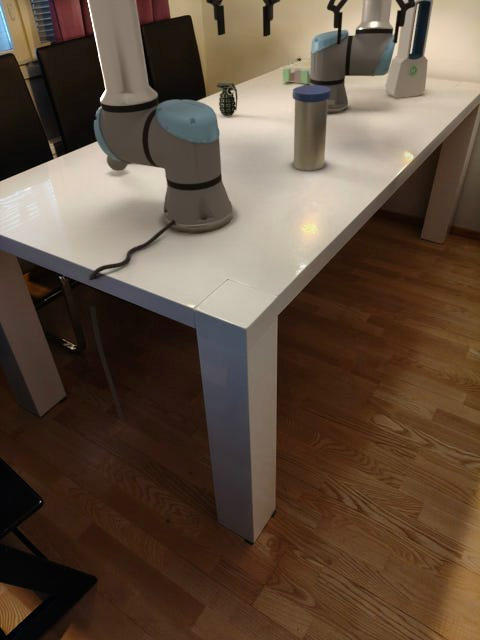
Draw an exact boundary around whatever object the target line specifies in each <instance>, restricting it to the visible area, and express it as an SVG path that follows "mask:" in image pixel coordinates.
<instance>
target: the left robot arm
mask: <svg viewBox="0 0 480 640" xmlns="http://www.w3.org/2000/svg"><path fill="white" fill-rule="evenodd" d="M262 1H263V3H264V5H263V6H262V36H263V37H268V36H271V21H274V6H275V4H277V3H280V2H281V0H262ZM222 2H223V0H206V3H207V4H210V5H212V7H213V18H214V20H215V21H216V27H217V36H223V35H225V34H226V24H225V23H226V22H225V5H222V4H223V3H222ZM87 3H88V4H87V5H88V8H89V13H90V20H91V23H92V29H93V34H94V39H95V43H96V49H97V53H98V59H99V63H100V68H101V73H102V78H103V84H104V88H105V90H104V92H103V93H102V95H101V97H100V98H99V102H100V107H98V109H97V110H96V113H95V120H93V130H94V135H95V139H96V143H97V144H98V146H99V147H100V149H101V150H102V152H103V153H104V154H105V155H106V156H109V157H111V158H112V159H115V160H118V161H122V162H124V163H128V164H127V165H131V164H132V165H139V166H146V167H154V168H160V169H164V174H165V180H166V190H165V191H166V192H165V196H164V203H163V207H162V218H163V222H164V224H165V226H164V227H162V228H161V229H159V231H157V232H156V233H155V234H153V236H152V237H151V238H150V239H148V240H147V241H146V242H143V243H142V244H139V245H136V246H134V247H132V248H130V249H129V250H128V251H127V253H126V257H125V258H124V260H122V261H119V262H115V263H109V264H104V265H101V266H99V267H97V268H95V269H94V270H93V272H91V274H90V276H89V279H88V280H89V281H92V280H95V278H96V276H97V275H98V274H100V273H101V272H102V271H106V270H111V269H116V268H121V267H124V266H125V265H127V264H128V263H129V262H130V260H131V256H132V254H133V253H136V252H138V251H140V250H142V249H145V248H146V247H148V246H150V245H151V244H153V243H154V242H155V241H156V240H157V239H158V238H160V237H161V236H162V235H163V234H164V233H165V232H167V231H168V230H169V229H171V230H173V231H177V232H180V233H190V234H191V233H192V234H193V233H194V234H195V233H196V234H197V233H205V232H206V233H207V232H210V231H215V230H216V229H220V228H222V227H224V226H226V225H227V224H228V223H230V221H231V220H232V218H233V216H234V212H233V211H234V210H233V204H232V201H231V200H230V197H229V195H228V192H227V190H226V187H225V184H224V182H223V175H222V174H223V173H222V161H221V159H222V158H221V145H220V133H221V132H220V129H219V123H218V116H217V113H216V112H215V110H214V109H213V108H212V106H210V105H208V104H206V103H204V102H202V101H198V100H193V99H169V100H165V101H162V102H160V101H159V94H158V92H157V91H156V90H155V89H153V88H152V87H151V85H150V84H149V78H148V71H147V64H146V57H145V52H144V44H143V39H142V32H141V24H140V19H139V12H138V5H137V0H87ZM90 314H91V321H92V327H93V332H94V337H95V342H96V346H97V350H98V354H99V357H100V360H101V361H100V362H101V363H102V367H103V370H104V373H105V377H106V380H107V382H108V385H109V388H110V391H111V393H112V396H113V400H114V403H115V406H116V410H117V414H118V417H119V421H120V422H124V420H125V418H124V413H123V410H122V407H121V404H120V400H119V397H118V393H117V391H116V388H115V384H114V382H113V379H112V375H111V372H110V370H109V366H108V362H107V360H106V356H105V353H104V348H103V345H102V341H101V337H100V331H99V325H98V319H97V311H96V306H93V305H90Z"/></svg>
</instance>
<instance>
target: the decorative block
mask: <svg viewBox="0 0 480 640" xmlns="http://www.w3.org/2000/svg"><path fill="white" fill-rule="evenodd" d="M301 60H302V61H299V60H298V61H296V62H293V61H290V62H288V63H287V64H288V65H286V66H284V68H282V82H287V83H297V84H305V85H310V70H311V57H310V58H307V59H306V58H305V59H301Z"/></svg>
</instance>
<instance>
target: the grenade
mask: <svg viewBox="0 0 480 640" xmlns="http://www.w3.org/2000/svg"><path fill="white" fill-rule="evenodd" d="M215 87H217V88H219V89H221V93H219V97H218V101H219V102H218V106H219V108H218V109H219V112H220V114H221V115H222V116H224V117H231V116H233V115H234V113H235V112H236V111H237V108H238V89H237V87H236V85H235V84H234V83H233V82H218V83H217V84H216V86H215ZM232 91H233V92H232ZM234 94H235V96H234Z"/></svg>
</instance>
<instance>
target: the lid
mask: <svg viewBox="0 0 480 640" xmlns="http://www.w3.org/2000/svg"><path fill="white" fill-rule="evenodd" d="M330 94H331V89H330V88H329V87H326V86H320V85H310V84H307V85H301V86H297V87H294V88H293V89H292V99H293V100H294V101H295V100H298V101H303V102H317V101H323V100H327V99H329V98H330Z"/></svg>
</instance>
